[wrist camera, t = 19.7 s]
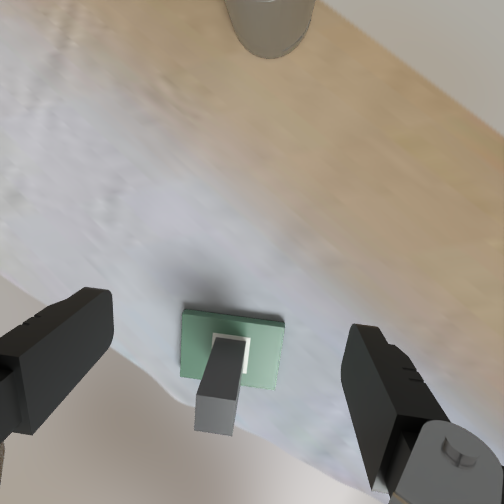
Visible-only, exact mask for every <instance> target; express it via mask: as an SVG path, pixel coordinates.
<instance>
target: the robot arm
mask: <svg viewBox="0 0 504 504" xmlns="http://www.w3.org/2000/svg"><path fill="white" fill-rule="evenodd" d="M224 1H225V4H226V7H227V10H228V13H229V16H230V19H231V21H232V24H233V27H234V30H235V33H236V35H237V37H238V39H239V41H240V42H241V44H242V45H243V46H244V47H245V48H246V49H247V50H248V51H249V52H251V53H252V54H254V55H256V56H258V57H261V58H266V59H272V58H278V57H282V56H284V55H286V54H288V53H290V52H291V51H292V50H293V49H295V48H296V47H297V46H298V45H299V43H300V42H301V41H302V39H303V38H304V36H305V34H306V32H307V30H308V27H309V24H310V21H311V16H312V12H313V8H314V4H315V0H224ZM113 335H114V322H113V302H112V294H111V292H110V291H109V290H105V289H98V288H90V287H84V288H82V289H81V290H79V291H78V292H76V293H75V294H73V295H72V296H70V297H69V298H68V299H65V300H63V301H60V302H57V303H55V304H52V305H50V306H47V307H46V308H44V309H43V310H42V311H40V312H38V313H37V314H35V315H34V317H31V318H29V319H28V320H27V321H25V322H23V324H22V325H19V326H17V327H16V328H14V329H12V330H11V331H9V332H8V333H6V334H5V335H3V336H2V337H0V483H1V476H2V468H3V461H4V453H5V446H4V440H5V439H6V438H7V437H8V436H9V435H10V434H11V433H12V432H14V433H21V434H27V435H33V434H34V433H35V432H36V430H37V429H38V428H39V427H40V426H41V425H42V424H43V423H44V421H45V420H46V419H47V418H48V417H49V416H50V415H51V413H52V412H53V411H54V410H55V409H56V408H57V406H58V405H59V404H60V403H61V402H62V401H63V400H64V399H65V397H66V396H67V395H68V394H69V393H70V392H71V390H72V389H73V388H74V387H75V386H76V385H77V384H78V383H79V382H80V380H81V379H82V378H83V377H84V376H85V374H87V372H88V371H89V370H90V369H91V368H92V367H93V366H94V364H95V363H96V362H97V361H98V360H99V359H100V358H101V356H102V355H103V354H104V353H105V352H106V351H107V349H108V348H109V346H110V344H111V342H112V339H113ZM416 370H417V369H416V368H415V366H414V365H413V363H412V362H411V360H410V358H409V357H408V356H407V355H406V354H405V353H403V352H402V351H401V350H400V349H399V348H398V347H396V346H395V345H391V344H388V343H387V341H386V339H385V337H384V336H383V334H382V332H381V331H380V329H379V328H378V327H376V326H368V325H361V324H352V326H351V328H350V331H349V335H348V340H347V344H346V348H345V352H344V356H343V360H342V365H341V382H342V387H343V390H344V394H345V397H346V401H347V405H348V408H349V412H350V415H351V419H352V423H353V426H354V430H355V433H356V437H357V440H358V444H359V448H360V451H361V455H362V458H363V462H364V466H365V469H366V473H367V476H368V480H369V484H370V487H371V491H374V492H380V493H386V494H389V496H390V501H389V503H388V504H504V466H502V465H501V464H500V462H499V460H498V458H497V457H496V455H495V454H494V453H493V451H492V450H491V449H490V448H489V447H488V446H487V445H486V444H485V443H484V442H483V441H482V440H480V439H479V438H478V437H477V436H475V435H474V434H472V433H471V432H469V431H468V430H466V429H464V428H462V427H460V426H458V425H456V424H453V423H451V422H450V420H449V419H448V417H447V416H446V414H445V413H444V411H443V409H442V408H441V406H440V405H439V403H438V402H437V400H436V399H435V397H434V396H433V394H432V392H431V391H430V389H429V388H428V386H427V385H426V383H424V380H423V379H422V377H421V375H420V374H419V372H417V371H416Z"/></svg>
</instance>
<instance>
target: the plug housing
mask: <svg viewBox="0 0 504 504" xmlns="http://www.w3.org/2000/svg"><path fill="white" fill-rule="evenodd" d="M245 347H246V341H241V340H234V339H227V338H220V337H216V339H215V341H214V344H213V347H212V350H211V353H210V356H209V359H208V362H207V365H206V368H205V371H204V374H203V377H202V379H201V382H200V385H199V388H198V391H197V394H196V408H195V426H194V430H195V431H202V432H208V433H215V434H222V435H228V436H232V433H233V427H234V421H235V415H236V409H237V403H238V397H239V391H240V385H241V379H242V373H243V365H244V356H245Z"/></svg>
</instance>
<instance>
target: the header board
mask: <svg viewBox="0 0 504 504" xmlns="http://www.w3.org/2000/svg"><path fill="white" fill-rule="evenodd" d="M284 330H285V323H284V322H277V321H269V320H262V319H255V318H247V317H240V316H232V315H225V314H218V313H210V312H203V311H195V310H188V309H185V310H184V312H183V313H182V336H181V367H180V377H186V378H193V379H200V380H201V379H202V377H203V374H204V371H205V368H206V365H207V362H208V359H209V356H210V353H211V350H212V347H213V344H214V341H215V339H216V337H220V338H227V339H234V340H241V341H246V347H245V356H244V365H243V373H242V379H241V386H248V387H255V388H262V389H268V390H275V387H276V381H277V374H278V368H279V362H280V355H281V349H282V343H283V337H284Z"/></svg>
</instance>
